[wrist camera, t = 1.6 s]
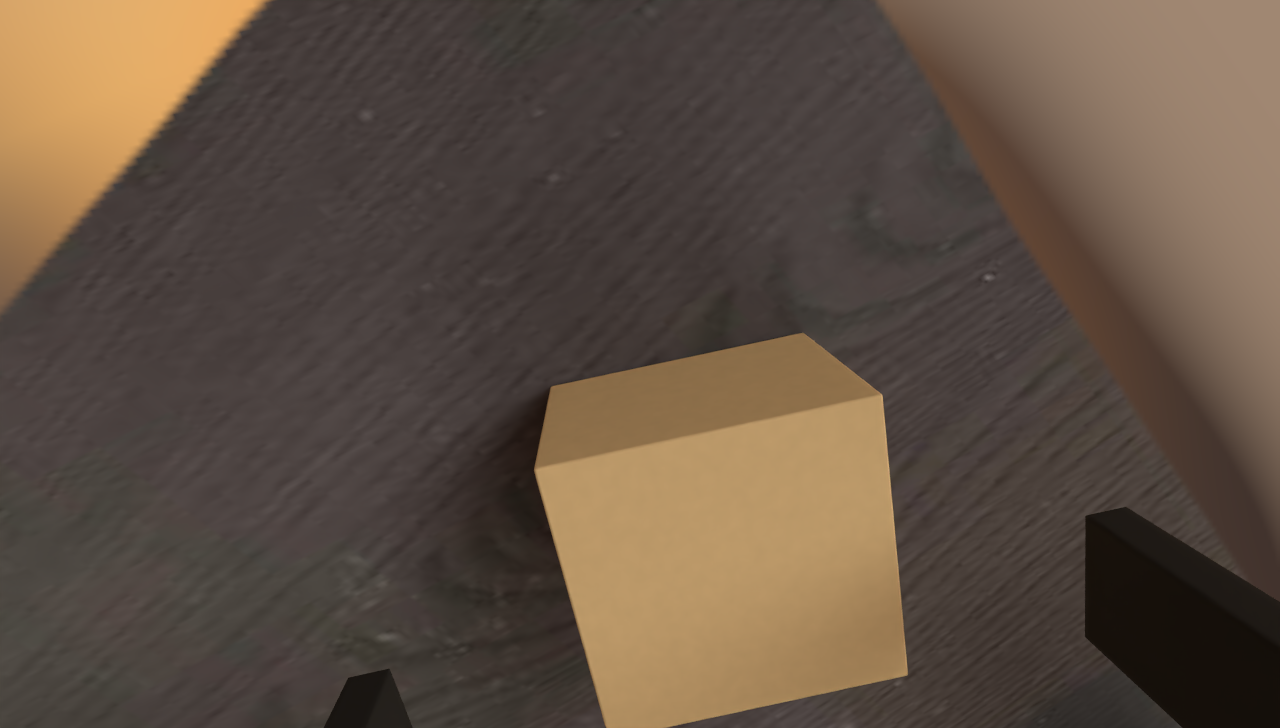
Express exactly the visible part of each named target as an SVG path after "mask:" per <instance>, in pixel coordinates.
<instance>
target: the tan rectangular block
mask: <svg viewBox="0 0 1280 728" xmlns="http://www.w3.org/2000/svg"><path fill="white" fill-rule="evenodd" d="M534 473H535V476H536V480H537V484H538V487H539V491H540V494H541V498H542V501H543V505H544V508H545V512H546V516H547V519H548V523H549V526H550V530H551V533H552V537H553V541H554V544H555V548H556V551H557V555H558V558H559V562H560V566H561V569H562V573H563V576H564V580H565V583H566V587H567V591H568V594H569V598H570V601H571V605H572V608H573V612H574V616H575V619H576V623H577V626H578V630H579V633H580V637H581V641H582V644H583V648H584V651H585V655H586V658H587V662H588V666H589V669H590V673H591V676H592V680H593V683H594V687H595V691H596V694H597V698H598V701H599V705H600V708H601V712H602V716H603V719H604V723H605V726H606V728H666V727H671V726H675V725H680V724H685V723H689V722H694V721H699V720H703V719H708V718H712V717H717V716H722V715H726V714H731V713H735V712H740V711H745V710H749V709H754V708H759V707H763V706H768V705H772V704H777V703H782V702H786V701H791V700H795V699H800V698H805V697H809V696H814V695H819V694H823V693H828V692H832V691H837V690H842V689H846V688H851V687H856V686H860V685H865V684H869V683H874V682H879V681H883V680H888V679H892V678H897V677H902V676H906V675H908V670H907V659H906V648H905V637H904V626H903V615H902V604H901V593H900V582H899V572H898V561H897V550H896V539H895V528H894V517H893V506H892V495H891V484H890V473H889V462H888V451H887V440H886V429H885V418H884V407H883V396H882V394H881V393H879V392H878V391H877V390H875V389H874V388H873V387H872V386H870V385H869V384H868V383H867V382H865V381H864V380H863V379H861V378H860V377H859V376H858V375H856V374H855V373H854V372H853V371H851V370H850V369H849V368H847V367H846V366H845V365H844V364H842V363H841V362H840V361H839V360H837V359H836V358H835V357H833V356H832V355H831V354H830V353H828V352H827V351H826V350H824V349H823V348H822V347H821V346H819V345H818V344H817V343H816V342H814V341H813V340H812V339H810V338H809V337H808V336H807V335H805V334H804V333H799V334H795V335H790V336H785V337H781V338H776V339H771V340H767V341H762V342H757V343H753V344H748V345H743V346H739V347H734V348H729V349H724V350H720V351H715V352H710V353H706V354H701V355H696V356H692V357H687V358H682V359H678V360H673V361H668V362H664V363H659V364H654V365H650V366H645V367H640V368H635V369H631V370H626V371H621V372H617V373H612V374H607V375H603V376H598V377H593V378H589V379H584V380H579V381H575V382H570V383H565V384H561V385H556V386H552V387H551V388H550V393H549V398H548V403H547V408H546V413H545V418H544V423H543V428H542V433H541V438H540V443H539V448H538V452H537V457H536V462H535V467H534Z"/></svg>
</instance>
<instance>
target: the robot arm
mask: <svg viewBox="0 0 1280 728" xmlns="http://www.w3.org/2000/svg"><path fill="white" fill-rule="evenodd" d="M1085 637H1086V638H1087V639H1088V640H1089V641H1090V642H1091V643H1092V644H1093V645H1094V646H1096V647H1097V648H1098V649H1099V650H1100V651H1101V652H1102V653H1103V654H1104V655H1105V656H1106V657H1107V658H1108V659H1109V660H1111V661H1112V662H1113V663H1114V664H1115V665H1116V666H1117V667H1118V668H1119V669H1120V670H1121V671H1122V672H1123V673H1125V674H1126V675H1127V676H1128V677H1129V678H1130V679H1131V680H1132V681H1133V682H1134V683H1135V684H1136V685H1137V686H1138V687H1140V688H1141V689H1142V690H1143V691H1144V692H1145V693H1146V694H1147V695H1148V696H1149V697H1150V698H1151V699H1152V700H1153V701H1155V702H1156V703H1157V704H1158V705H1159V706H1160V707H1161V708H1162V709H1163V710H1164V711H1165V712H1166V713H1167V714H1169V715H1170V716H1171V717H1172V718H1173V719H1174V720H1175V721H1176V722H1177V723H1178V724H1179V725H1180V726H1181V727H1182V728H1280V602H1279V601H1277V600H1276V599H1274V598H1272V597H1271V596H1269V595H1268V594H1266V593H1264V592H1263V591H1261V590H1259V589H1258V588H1256V587H1255V586H1253V585H1251V584H1250V583H1248V582H1247V581H1245V580H1243V579H1242V578H1240V577H1238V576H1237V575H1235V574H1234V573H1232V572H1230V571H1229V570H1227V569H1225V568H1224V567H1222V566H1221V565H1219V564H1217V563H1216V562H1214V561H1213V560H1211V559H1209V558H1208V557H1206V556H1204V555H1203V554H1201V553H1200V552H1198V551H1196V550H1195V549H1193V548H1191V547H1190V546H1188V545H1187V544H1185V543H1183V542H1182V541H1180V540H1178V539H1177V538H1175V537H1174V536H1172V535H1170V534H1169V533H1167V532H1166V531H1164V530H1162V529H1161V528H1159V527H1157V526H1156V525H1154V524H1153V523H1151V522H1149V521H1148V520H1146V519H1144V518H1143V517H1141V516H1140V515H1138V514H1136V513H1135V512H1133V511H1132V510H1130V509H1128V508H1127V507H1123V508H1119V509H1114V510H1110V511H1105V512H1100V513H1096V514H1091V515H1087V516H1086V557H1085ZM324 728H412V725H411V722H410V720H409V717H408V715H407V712H406V710H405V707H404V705H403V702H402V699H401V697H400V694H399V692H398V689H397V687H396V684H395V681H394V679H393V676H392V674H391V671H390V669H386V670H381V671H377V672H372V673H368V674H363V675H359V676H354V677H350V678H348V680H347V682H346V684H345V686H344V688H343V690H342V692H341V694H340V696H339V698H338V700H337V702H336V704H335V706H334V708H333V710H332V712H331V714H330V716H329V718H328V720H327V722H326V725H325V727H324Z"/></svg>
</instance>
